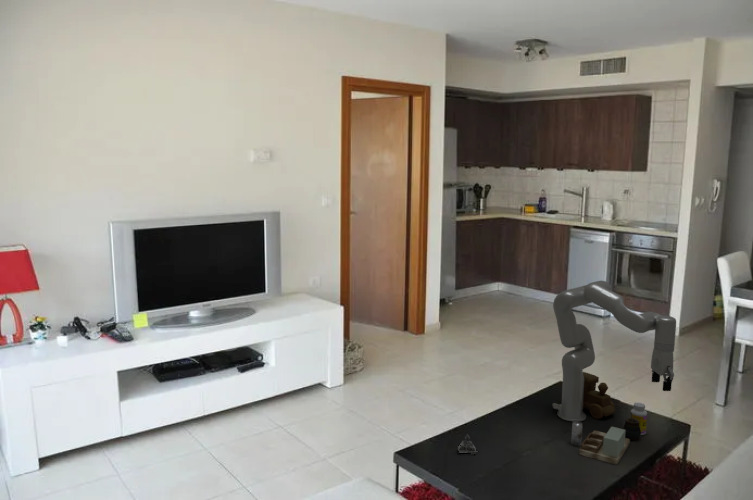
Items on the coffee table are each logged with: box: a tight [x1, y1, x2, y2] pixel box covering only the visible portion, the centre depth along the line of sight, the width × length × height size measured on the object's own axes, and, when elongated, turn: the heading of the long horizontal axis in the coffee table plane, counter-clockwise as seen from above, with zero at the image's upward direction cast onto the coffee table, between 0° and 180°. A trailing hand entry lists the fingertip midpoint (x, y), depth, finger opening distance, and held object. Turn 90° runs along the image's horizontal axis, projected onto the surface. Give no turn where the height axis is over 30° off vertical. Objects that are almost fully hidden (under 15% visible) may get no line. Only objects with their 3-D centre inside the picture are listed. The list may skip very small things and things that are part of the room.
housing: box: [603, 426, 625, 458], centre depth 248 cm, size 6×12×7 cm, turn 145°
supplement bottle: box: [629, 402, 648, 436], centre depth 268 cm, size 7×7×13 cm
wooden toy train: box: [583, 371, 616, 420], centre depth 289 cm, size 20×11×17 cm, turn 36°
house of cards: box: [457, 433, 477, 455], centre depth 252 cm, size 9×9×8 cm
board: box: [578, 429, 631, 465], centre depth 253 cm, size 15×22×4 cm
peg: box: [570, 421, 583, 447], centre depth 258 cm, size 4×4×9 cm
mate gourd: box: [622, 411, 641, 441], centre depth 263 cm, size 7×8×10 cm
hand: (661, 386), depth 252 cm, fingers open, 9 cm apart
